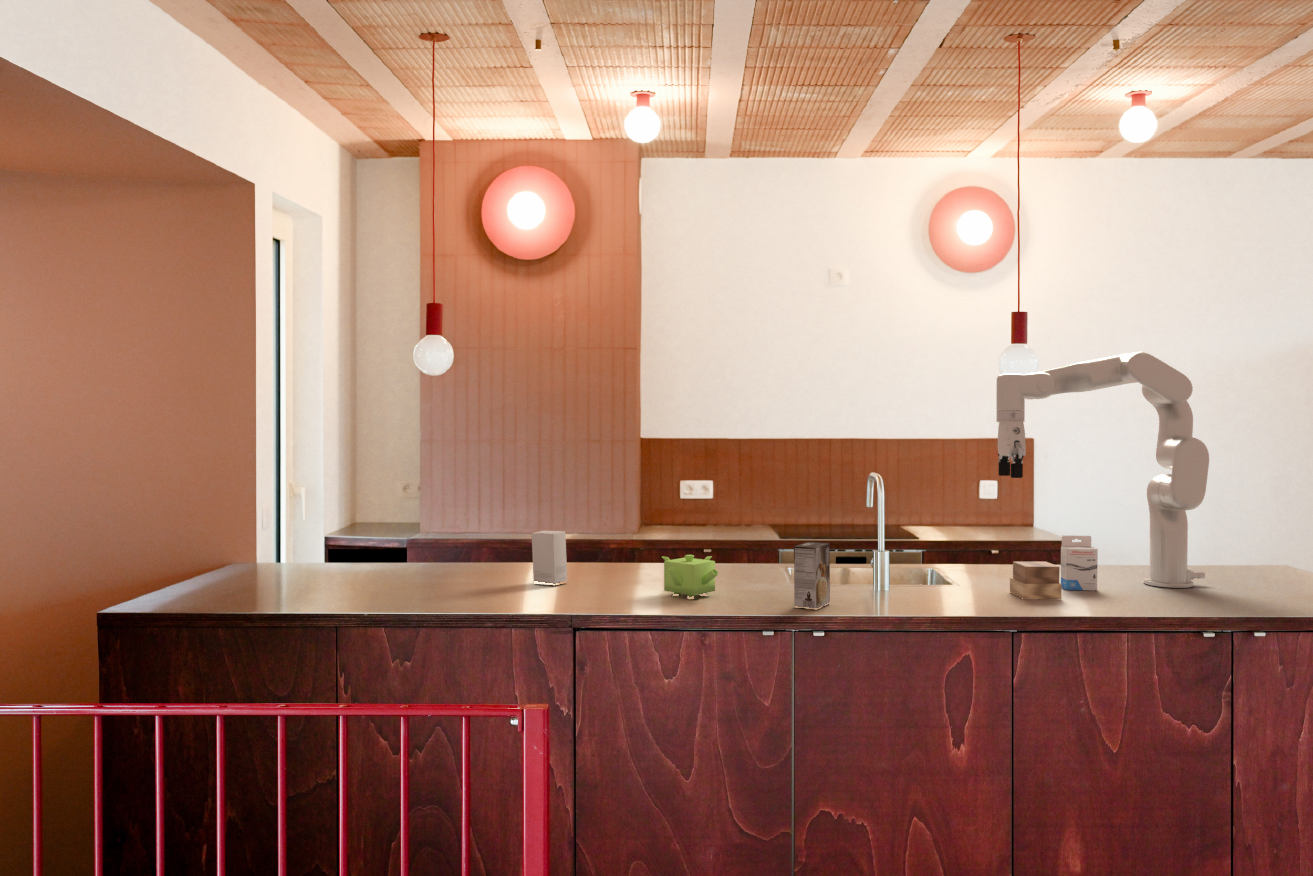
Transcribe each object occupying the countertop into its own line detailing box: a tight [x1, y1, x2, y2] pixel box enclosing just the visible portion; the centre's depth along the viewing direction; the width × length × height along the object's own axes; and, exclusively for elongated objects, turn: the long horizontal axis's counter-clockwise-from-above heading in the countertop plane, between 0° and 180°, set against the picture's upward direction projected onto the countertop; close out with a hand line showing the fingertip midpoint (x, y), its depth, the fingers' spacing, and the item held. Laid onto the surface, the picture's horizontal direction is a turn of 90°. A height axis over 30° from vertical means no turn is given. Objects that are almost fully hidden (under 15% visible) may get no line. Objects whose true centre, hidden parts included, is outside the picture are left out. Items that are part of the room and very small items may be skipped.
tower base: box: [1009, 577, 1063, 600], centre depth 254 cm, size 10×10×4 cm
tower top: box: [1012, 561, 1060, 584], centre depth 254 cm, size 9×9×4 cm
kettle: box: [661, 554, 719, 597], centre depth 258 cm, size 15×14×11 cm
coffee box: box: [793, 541, 831, 608], centre depth 242 cm, size 9×6×16 cm
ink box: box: [1060, 535, 1099, 591], centre depth 264 cm, size 9×5×15 cm, turn 84°
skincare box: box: [531, 530, 568, 584], centre depth 277 cm, size 8×7×16 cm
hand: (1010, 476), depth 269 cm, fingers open, 9 cm apart
